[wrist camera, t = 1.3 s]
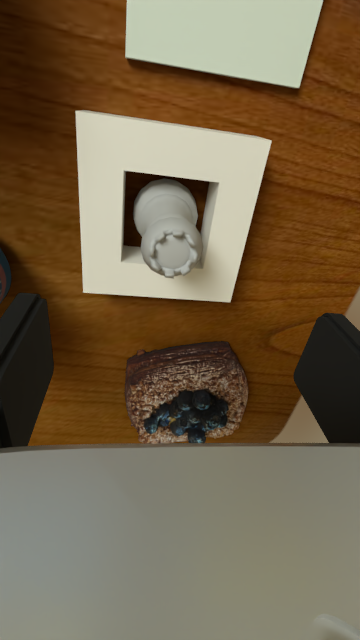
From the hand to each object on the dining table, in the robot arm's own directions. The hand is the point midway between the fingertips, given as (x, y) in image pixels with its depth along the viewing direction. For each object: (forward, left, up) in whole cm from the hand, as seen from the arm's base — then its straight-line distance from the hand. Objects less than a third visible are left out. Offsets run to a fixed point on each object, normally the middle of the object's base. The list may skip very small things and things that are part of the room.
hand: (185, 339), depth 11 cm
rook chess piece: (-1, 0, -14) cm, 14 cm away
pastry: (+16, +4, -15) cm, 22 cm away
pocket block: (-1, 0, -14) cm, 14 cm away
